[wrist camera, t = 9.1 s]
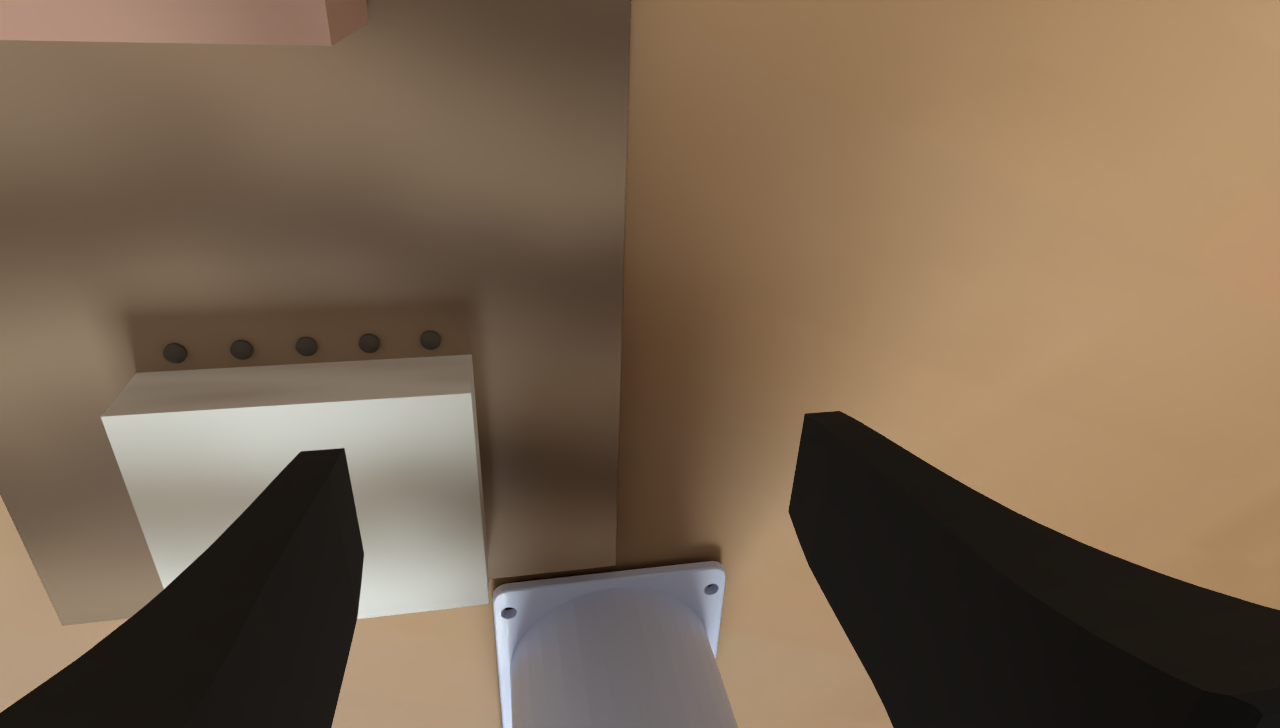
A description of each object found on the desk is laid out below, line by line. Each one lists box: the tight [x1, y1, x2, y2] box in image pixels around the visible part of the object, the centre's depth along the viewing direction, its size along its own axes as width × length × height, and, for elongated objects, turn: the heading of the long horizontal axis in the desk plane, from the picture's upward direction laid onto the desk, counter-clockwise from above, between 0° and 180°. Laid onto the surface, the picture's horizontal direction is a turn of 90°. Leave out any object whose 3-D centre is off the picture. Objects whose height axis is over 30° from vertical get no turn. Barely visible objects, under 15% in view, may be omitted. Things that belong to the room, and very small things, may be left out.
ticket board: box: [0, 0, 631, 626], centre depth 17 cm, size 22×16×3 cm
